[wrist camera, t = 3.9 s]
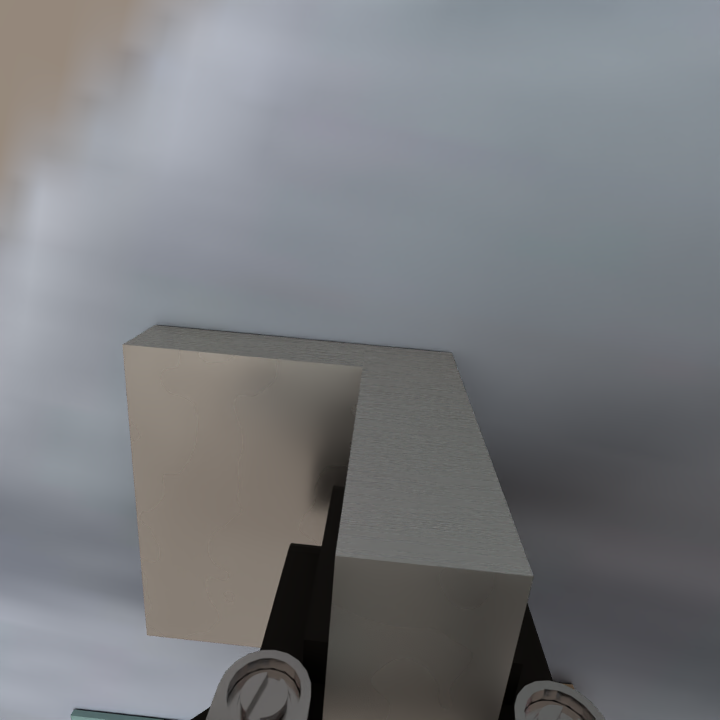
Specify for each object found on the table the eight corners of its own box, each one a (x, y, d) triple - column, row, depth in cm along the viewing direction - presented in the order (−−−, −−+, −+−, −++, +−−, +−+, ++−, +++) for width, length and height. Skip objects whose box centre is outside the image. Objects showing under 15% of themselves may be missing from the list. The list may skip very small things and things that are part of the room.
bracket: (412, 616, 14) (431, 988, 8) (170, 590, 14) (-12, 932, 8) (451, 353, 12) (533, 576, 5) (154, 325, 12) (-144, 505, 5)
